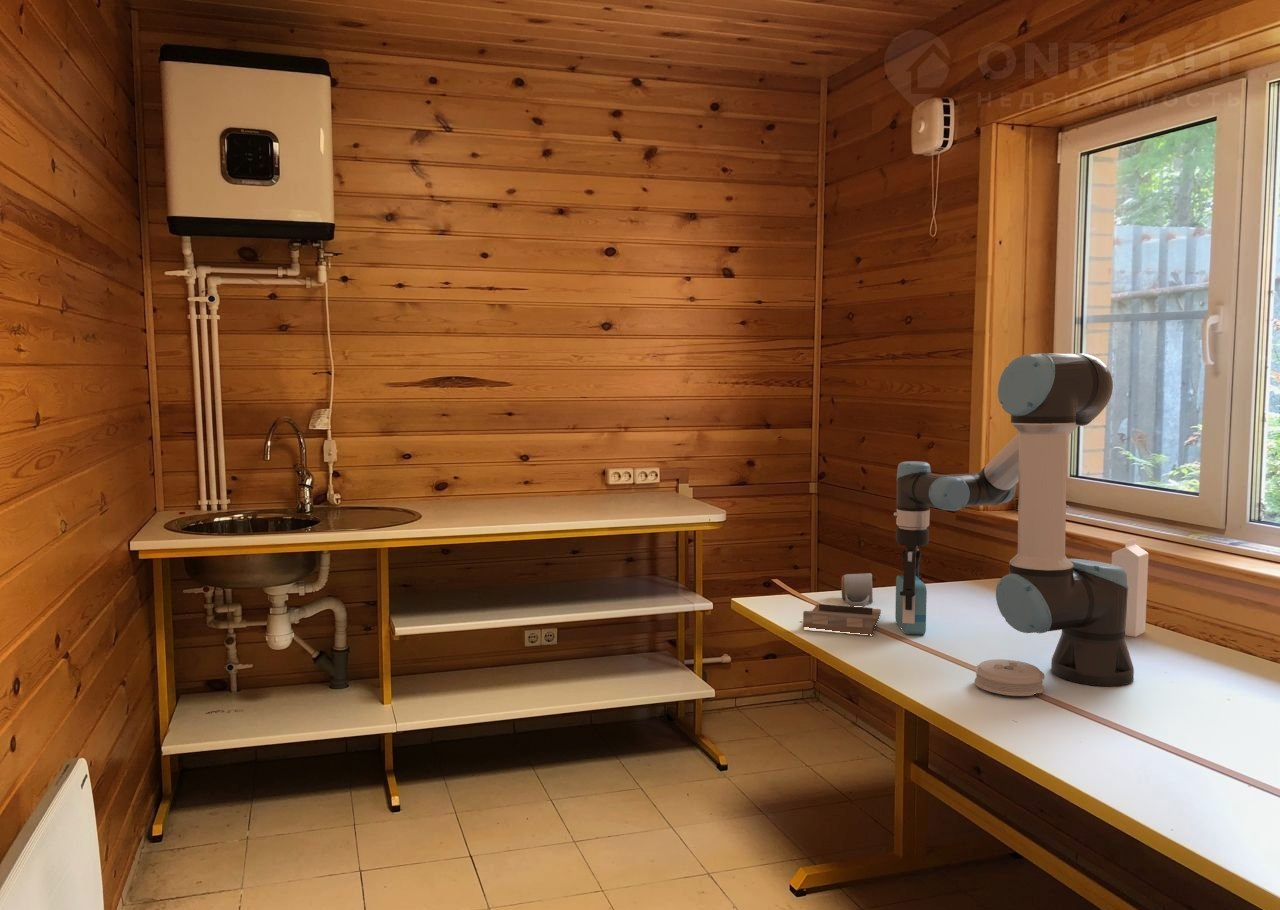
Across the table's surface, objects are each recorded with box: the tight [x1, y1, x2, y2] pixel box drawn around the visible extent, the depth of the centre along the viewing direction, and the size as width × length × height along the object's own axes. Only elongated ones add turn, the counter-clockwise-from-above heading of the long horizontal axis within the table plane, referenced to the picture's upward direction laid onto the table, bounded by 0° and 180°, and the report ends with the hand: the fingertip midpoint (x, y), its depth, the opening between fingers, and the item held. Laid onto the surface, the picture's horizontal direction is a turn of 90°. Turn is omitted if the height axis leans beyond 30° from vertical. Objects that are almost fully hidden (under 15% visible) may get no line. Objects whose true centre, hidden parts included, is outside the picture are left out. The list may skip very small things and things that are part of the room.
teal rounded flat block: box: [894, 574, 928, 635], centre depth 228 cm, size 12×4×12 cm, turn 177°
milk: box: [1111, 537, 1149, 638], centre depth 224 cm, size 6×6×22 cm
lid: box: [974, 658, 1046, 697], centre depth 187 cm, size 13×13×5 cm
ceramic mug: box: [840, 572, 874, 607], centre depth 254 cm, size 11×8×8 cm
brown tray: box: [802, 603, 882, 636], centre depth 235 cm, size 20×16×4 cm
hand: (910, 615), depth 228 cm, fingers closed on teal rounded flat block, 13 cm apart
